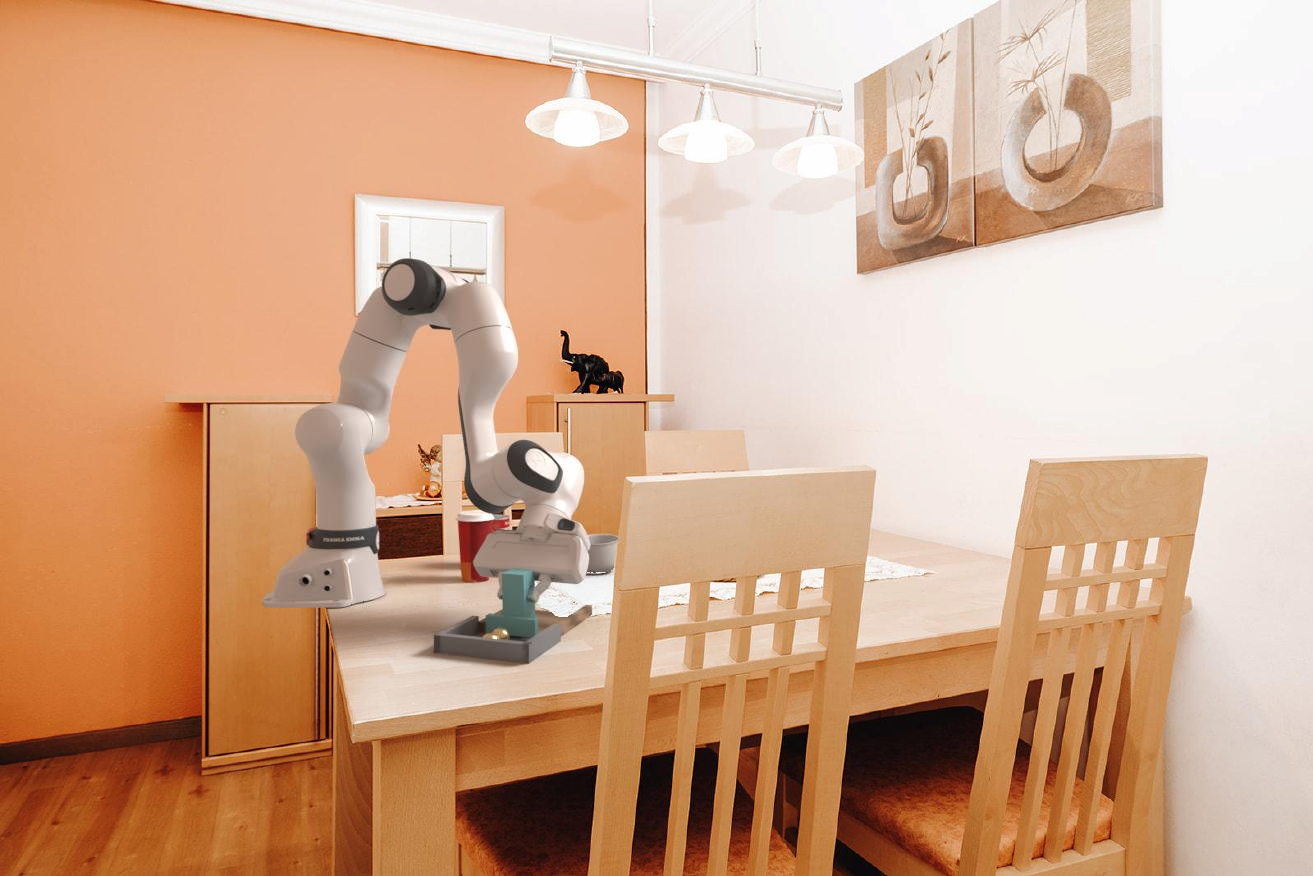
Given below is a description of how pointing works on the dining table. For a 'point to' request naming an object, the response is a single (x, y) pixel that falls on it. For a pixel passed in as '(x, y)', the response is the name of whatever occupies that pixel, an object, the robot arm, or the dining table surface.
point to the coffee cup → (472, 541)
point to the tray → (493, 643)
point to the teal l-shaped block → (515, 605)
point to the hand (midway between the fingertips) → (516, 599)
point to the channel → (552, 620)
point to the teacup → (602, 552)
